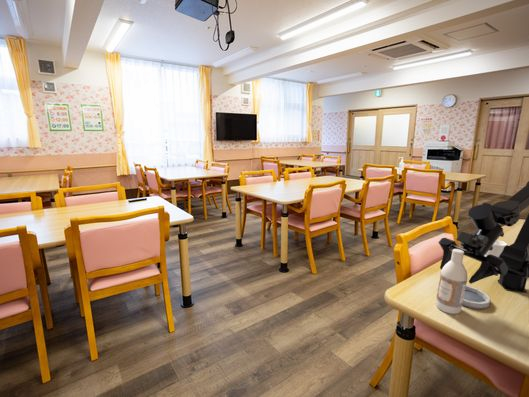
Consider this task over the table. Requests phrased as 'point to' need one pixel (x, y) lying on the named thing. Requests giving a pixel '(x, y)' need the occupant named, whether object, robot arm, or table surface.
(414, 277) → the table surface
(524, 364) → the table surface
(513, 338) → the table surface
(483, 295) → the round grey tray
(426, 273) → the table surface
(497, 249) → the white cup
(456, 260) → the bath foam
